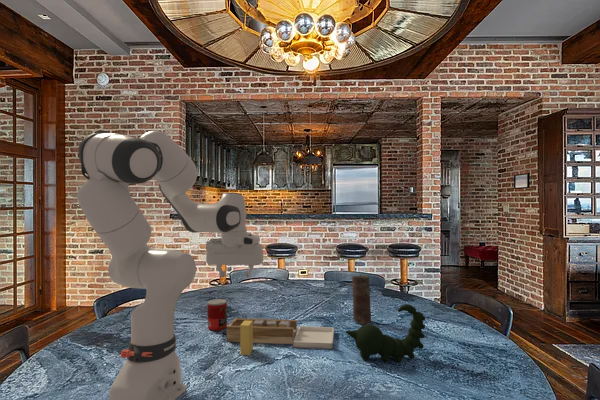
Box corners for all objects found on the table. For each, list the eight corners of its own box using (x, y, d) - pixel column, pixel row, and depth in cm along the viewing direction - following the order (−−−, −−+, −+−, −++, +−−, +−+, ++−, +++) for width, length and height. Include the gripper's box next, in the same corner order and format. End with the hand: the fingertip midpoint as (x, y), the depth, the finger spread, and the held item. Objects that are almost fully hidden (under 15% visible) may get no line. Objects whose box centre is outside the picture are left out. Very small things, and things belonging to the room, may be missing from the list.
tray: (332, 349, 123) (332, 343, 123) (293, 347, 125) (293, 341, 125) (334, 332, 139) (334, 327, 139) (299, 331, 141) (299, 326, 141)
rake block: (249, 355, 119) (248, 325, 120) (240, 354, 120) (240, 325, 120) (253, 348, 124) (252, 320, 124) (244, 348, 125) (244, 320, 125)
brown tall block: (350, 323, 149) (349, 276, 149) (356, 318, 155) (355, 273, 156) (368, 326, 145) (367, 277, 146) (373, 321, 152) (372, 274, 152)
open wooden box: (293, 344, 128) (292, 329, 128) (226, 341, 131) (226, 326, 131) (296, 334, 138) (296, 319, 138) (235, 331, 141) (235, 318, 141)
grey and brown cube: (287, 334, 131) (287, 324, 131) (278, 333, 132) (278, 323, 132) (290, 330, 135) (290, 321, 135) (281, 329, 136) (281, 320, 136)
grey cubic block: (262, 332, 133) (262, 323, 133) (253, 332, 133) (253, 323, 133) (264, 329, 136) (264, 320, 136) (255, 329, 137) (255, 320, 137)
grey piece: (276, 332, 133) (276, 323, 133) (267, 333, 132) (267, 324, 132) (275, 329, 136) (275, 320, 136) (266, 330, 136) (266, 321, 136)
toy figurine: (416, 357, 119) (342, 351, 120) (420, 302, 119) (347, 295, 120) (425, 371, 110) (345, 363, 111) (429, 310, 110) (350, 303, 111)
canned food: (222, 331, 142) (222, 304, 142) (204, 330, 143) (203, 303, 144) (230, 325, 149) (229, 299, 149) (212, 324, 151) (212, 298, 151)
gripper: (202, 239, 123) (204, 279, 123) (260, 239, 120) (261, 279, 121) (209, 237, 129) (210, 274, 130) (263, 236, 126) (265, 274, 127)
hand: (235, 276), depth 125 cm, fingers open, 8 cm apart
